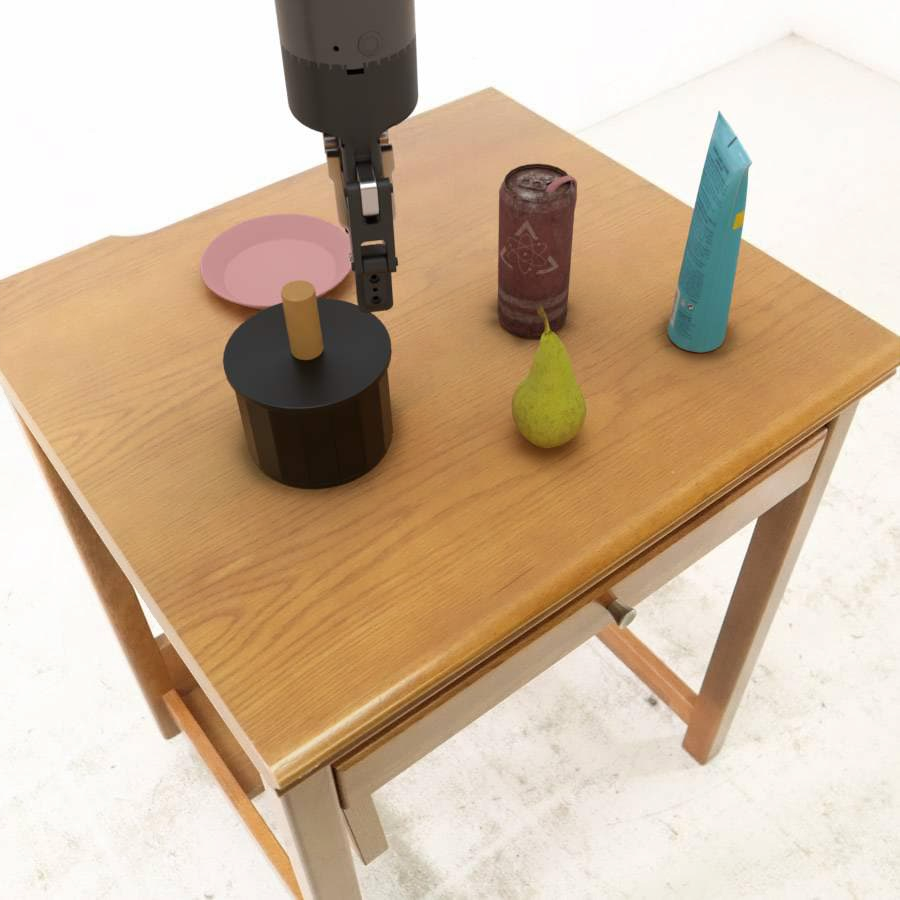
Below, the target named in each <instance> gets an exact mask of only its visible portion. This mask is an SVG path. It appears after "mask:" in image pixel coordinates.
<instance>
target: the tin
mask: <svg viewBox="0 0 900 900" xmlns="http://www.w3.org/2000/svg"><path fill="white" fill-rule="evenodd" d="M390 392H391V391H390V383H389V371H388V369H387V371H386V373H385V375H384V376H383V377H382V379H381V380H380V381H379V382H378V384H377V385H376V386H375V387H374V388H372V389H371V390H370V391H369V392H367V393H366V394H365V395H363V396H362V397H360V398H358V399H357V400H355V401H353V402H351V403H349V404H346V405H344V406H341V407H338V408H335V409H331V410H328V411H323V412H317V413H309V414H288V413H279V412H274V411H269V410H266V409H263V408H260V407H258V406H256V405H253V404H251V403H250V402H248V401H246V400H245V399H243V398H242V397H241V396H240V395H238V394H237V393H236V392H235V391H234V394H235V397H236V402H237V405H238V410H239V413H240V419H241V423H242V427H243V431H244V435H245V436H244V437H245V440H246V444H247V449H248V452H249V454H250V455H251V458H252V460H253V462H254V463H255V465H256V466H257V467H258V469H259V470H261V472H262V473H264V475H266V477H269V478H270V479H272V480H274V481H275V482H277V483H280V484H282V485H285V486H289V487H291V488H297V489H304V490H320V489H330V488H335V487H339V486H340V487H341V486H343V485H346V484H349V483H351V482H354V481H356V480H358V479H360V478H362V477H363V476H365V475H366V474H368V473H369V472H371V471H372V470H373V469H374V468H375V467H377V466H378V464H380V462H381V461H382V460H383V459H384V457H385V456H386V455H387V453H388V450H390V446H391V443H392V439H393V434H394V433H393V432H394V428H393V427H394V425H393V417H392V407H391V406H392V404H391V393H390Z"/></svg>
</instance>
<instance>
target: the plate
mask: <svg viewBox="0 0 900 900" xmlns="http://www.w3.org/2000/svg"><path fill="white" fill-rule="evenodd" d="M349 253H351V249H350V241H349V234H347V233H346V231H345V230H344V229H342V228H341V227H340V226H338V225H337V224H335V223H333V222H331V221H330V220H326V219H324V218H321V217H318V216H315V215H309V214H304V213H303V214H302V213H276V214H267V215H263V216H262V215H261V216H257V217H253V218H251V219H247V220H244V221H242V222H239V223H237V224H235V225H233V226H231V227H229V228H227V229H226V230H224V231H222V232H221V233H220V234H218V235H217V236H216V237H214V238H213V240H212V241H211V242H210V243H209V244H208V245H207V247H205V250H203V253H202V255H201V259H200V263H199V271H200V275H201V279H202V281H203V282H204V284H205V285H206V287H207V288H208V289H209V290H210V291H211V292H212V293H214V294H215V295H217V296H218V297H219V298H221V299H223V300H226V301H228V302H230V303H234V304H236V305H240V306H243V307H246V308H251V309H254V310H259V311H261V310H263V309H266V308H268V307H270V306H273V305H276V304H279V303H282V297H281V290H282V288H283V286H284V285H286V284H287V283H289V282H292V281H296V280H304V281H308V282H310V283H311V284H313V286H314V287H315V292H316V298H322V297H323V296H324V295H326V294H327V293H329V292H330V291H332V290H333V289H334V288H336V287H337V286H338V285H339V284H340V283H342V282H343V281H344V280H345V279H346V278H347V276H348V275H349V274H350V272H351V271H352V267H351V262H352V261H351V262H350V259H349Z"/></svg>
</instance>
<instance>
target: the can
mask: <svg viewBox="0 0 900 900" xmlns="http://www.w3.org/2000/svg"><path fill="white" fill-rule="evenodd" d="M577 201H578V181H577V180H576V178H575V177H574V176H572V175H570V174H568V173H567V171H566V170H564V169H561V168H560V167H558V166H554V165H551V164H546V163H527V164H524V165H520V166H516V167H515V168H513V169H511V170H510V171H509V172H508V173H507V174H506V175H505V177H504V179H503V181H502V182H501V184H500V187H499V189H498V239H497V241H498V246H497V247H498V248H497V249H498V250H497V265H498V266H497V316H498V320H499V321H500V323H501V324H502V325H503V327H504V328H505V329H506V330H507V331H509V332H510V333H511V334H514V335H516V336H518V337H522V338H528V339H534V338H535V339H536V338H541V336H542V334H543V333H544V331H545V324H544V320H543V319H542V317H541V316H540V315H539V313H538V312H537V307H538V306H542V307H543V310H544V312H545V314H546V316H547V320H548V324H549V328H550V331H552V332H553V333H555V332H557V331H558V330H559V329H560V328H561V326H562V325H563V324H564V323H565V322H566V319H567V316H568V307H569V305H568V304H569V291H570V279H571V278H570V277H571V266H572V251H573V238H574V222H575V210H576V206H577Z"/></svg>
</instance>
